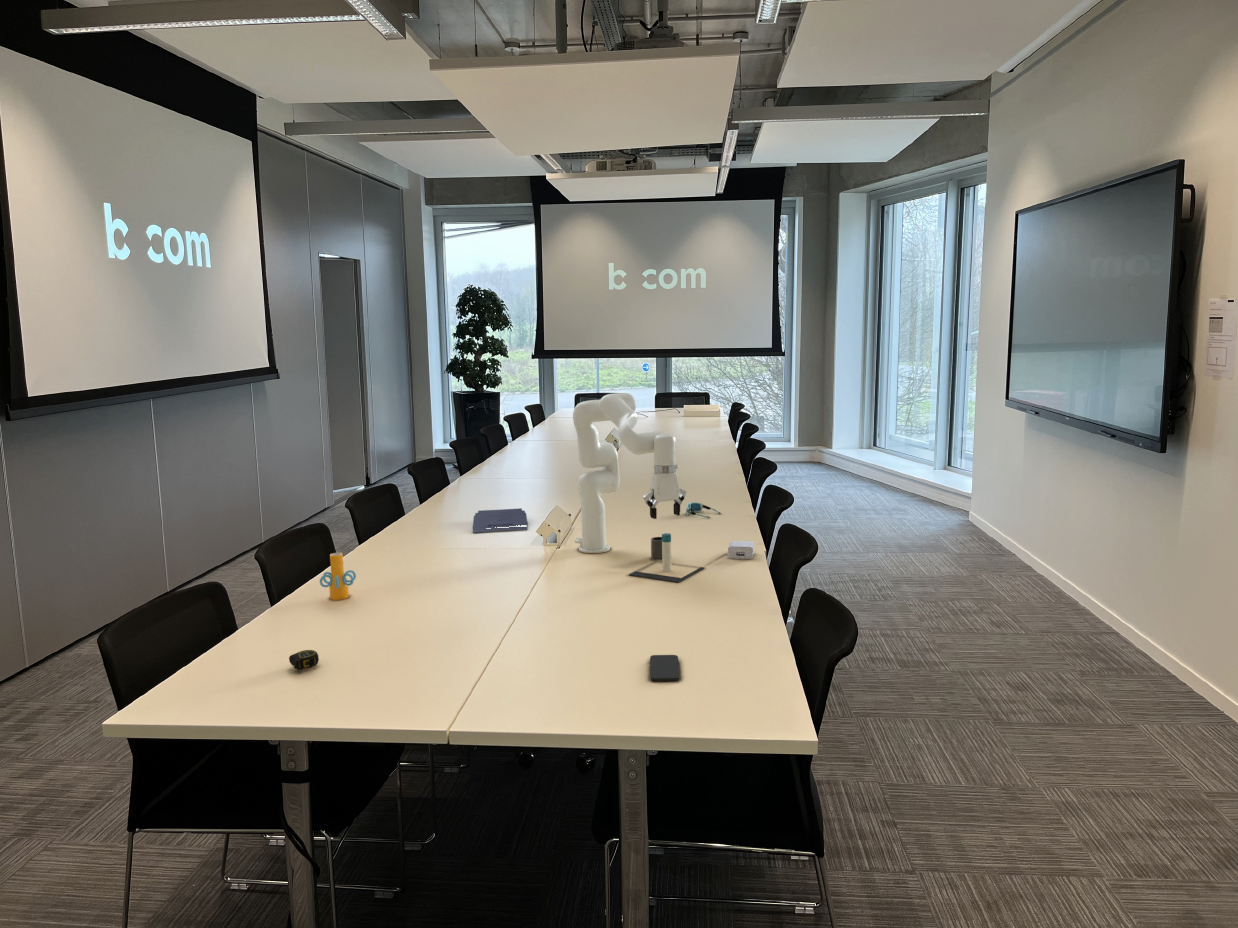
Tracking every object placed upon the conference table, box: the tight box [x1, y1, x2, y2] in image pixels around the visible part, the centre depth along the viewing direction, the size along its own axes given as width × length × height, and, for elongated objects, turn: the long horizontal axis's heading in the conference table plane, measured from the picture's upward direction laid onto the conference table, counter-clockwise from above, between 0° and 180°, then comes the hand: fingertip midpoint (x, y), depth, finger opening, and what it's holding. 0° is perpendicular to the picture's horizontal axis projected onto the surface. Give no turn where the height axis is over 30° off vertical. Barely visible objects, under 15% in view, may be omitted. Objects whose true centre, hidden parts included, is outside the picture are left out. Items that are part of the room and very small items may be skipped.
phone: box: [649, 654, 681, 682], centre depth 218 cm, size 7×1×15 cm
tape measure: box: [288, 649, 320, 672], centre depth 226 cm, size 7×7×4 cm
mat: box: [628, 566, 705, 584], centre depth 306 cm, size 20×20×1 cm
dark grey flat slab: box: [472, 507, 529, 534], centre depth 389 cm, size 24×30×4 cm
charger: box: [727, 540, 755, 560], centre depth 328 cm, size 5×9×15 cm
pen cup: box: [650, 536, 662, 561], centre depth 323 cm, size 6×6×8 cm
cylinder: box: [319, 552, 357, 601], centre depth 285 cm, size 12×10×15 cm
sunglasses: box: [685, 501, 722, 519], centre depth 399 cm, size 14×15×5 cm
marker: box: [661, 532, 672, 573], centre depth 305 cm, size 3×3×14 cm
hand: (665, 516), depth 303 cm, fingers open, 9 cm apart
